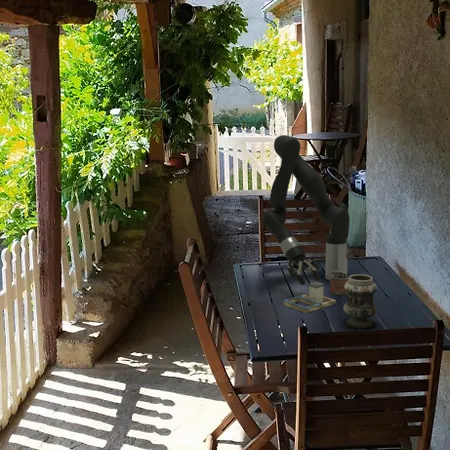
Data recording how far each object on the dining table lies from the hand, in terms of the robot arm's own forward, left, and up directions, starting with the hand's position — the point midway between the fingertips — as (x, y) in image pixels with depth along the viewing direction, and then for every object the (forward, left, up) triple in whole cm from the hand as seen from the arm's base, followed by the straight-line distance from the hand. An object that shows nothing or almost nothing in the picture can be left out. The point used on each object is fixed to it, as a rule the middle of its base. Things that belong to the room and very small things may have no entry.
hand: (311, 282), depth 259 cm
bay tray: (+4, +3, -8) cm, 9 cm away
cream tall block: (0, +3, -8) cm, 8 cm away
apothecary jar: (+4, +30, -8) cm, 31 cm away
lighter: (-15, +2, -8) cm, 17 cm away
